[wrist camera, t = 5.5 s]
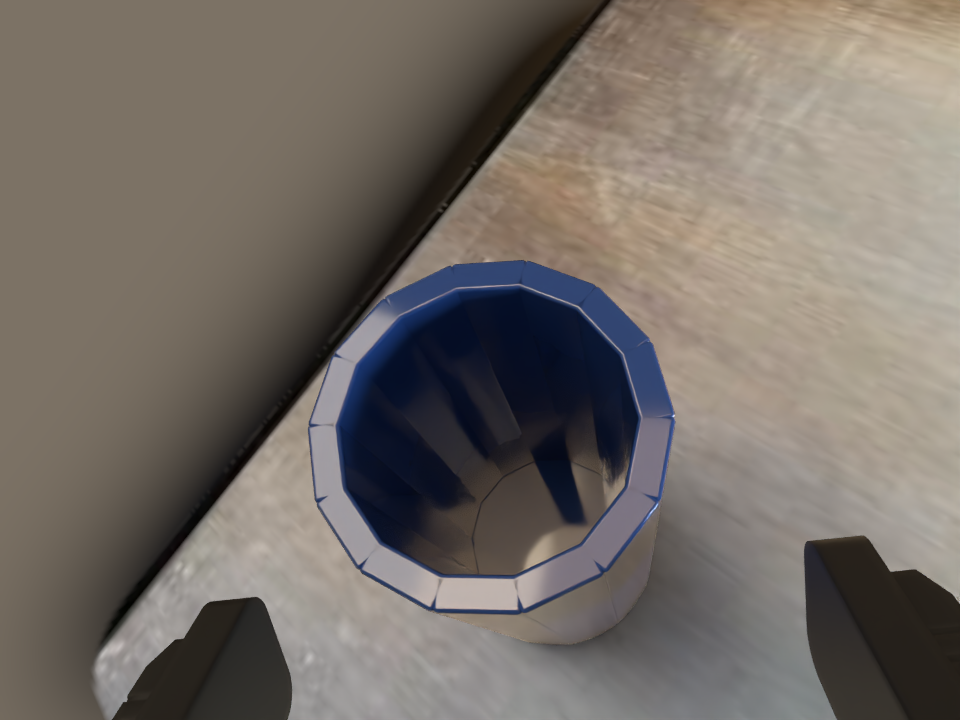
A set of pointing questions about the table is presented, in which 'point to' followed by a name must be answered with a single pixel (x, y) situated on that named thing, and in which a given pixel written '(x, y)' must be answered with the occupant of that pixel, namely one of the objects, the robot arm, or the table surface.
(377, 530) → the beaker
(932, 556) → the table surface
